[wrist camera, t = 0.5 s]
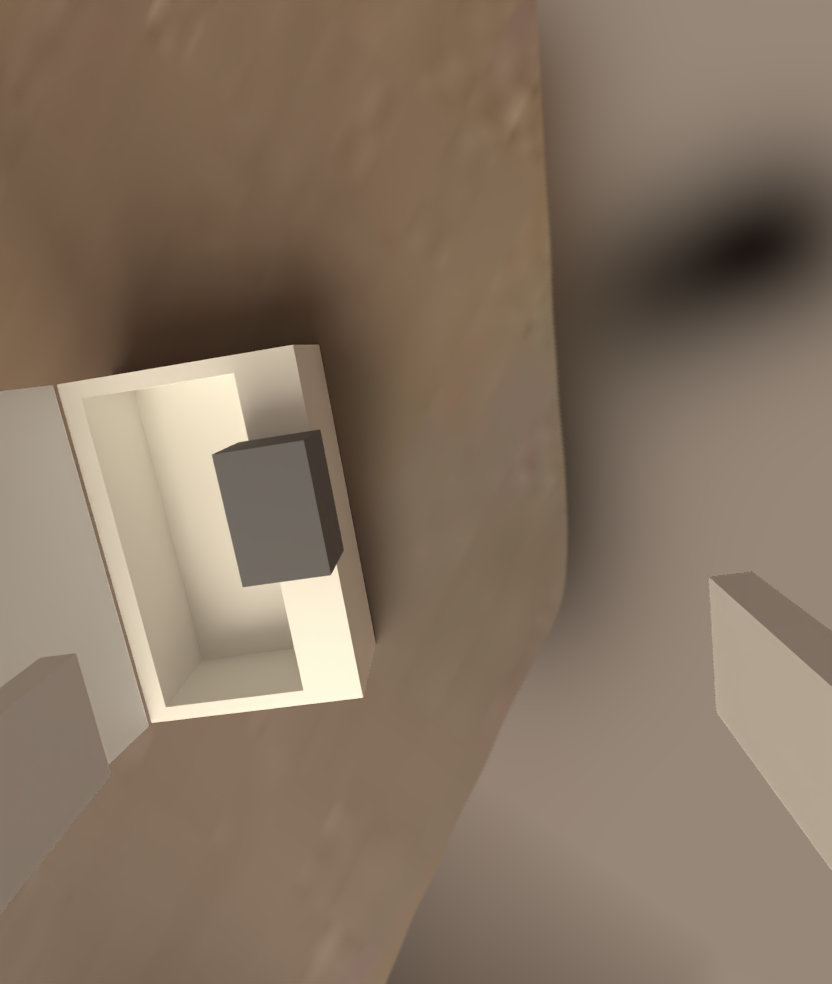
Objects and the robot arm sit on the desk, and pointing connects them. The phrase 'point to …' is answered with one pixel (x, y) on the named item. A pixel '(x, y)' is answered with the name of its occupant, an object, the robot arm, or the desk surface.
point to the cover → (57, 568)
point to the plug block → (279, 508)
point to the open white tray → (215, 536)
